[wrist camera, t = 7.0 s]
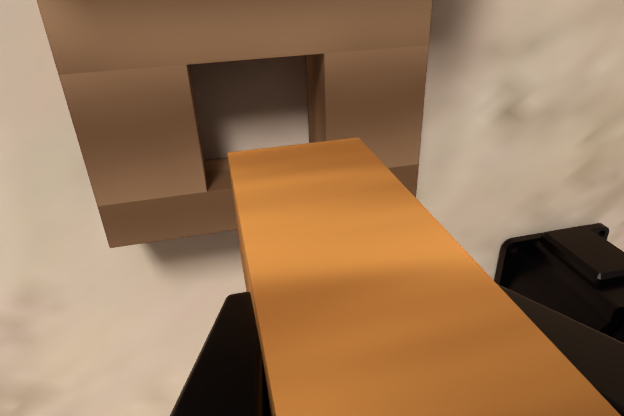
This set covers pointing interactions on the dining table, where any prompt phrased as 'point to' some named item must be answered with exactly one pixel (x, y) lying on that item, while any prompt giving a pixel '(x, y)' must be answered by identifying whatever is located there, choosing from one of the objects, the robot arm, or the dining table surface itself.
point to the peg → (381, 299)
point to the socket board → (181, 102)
